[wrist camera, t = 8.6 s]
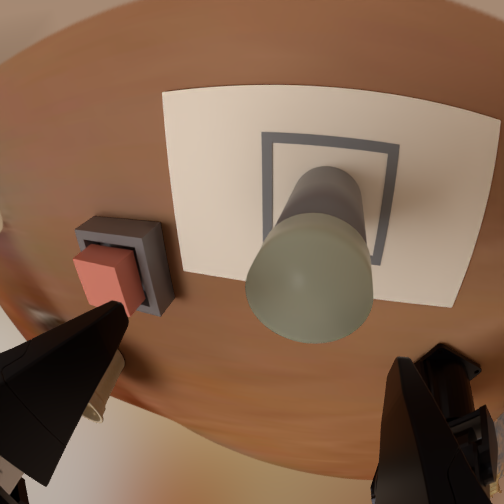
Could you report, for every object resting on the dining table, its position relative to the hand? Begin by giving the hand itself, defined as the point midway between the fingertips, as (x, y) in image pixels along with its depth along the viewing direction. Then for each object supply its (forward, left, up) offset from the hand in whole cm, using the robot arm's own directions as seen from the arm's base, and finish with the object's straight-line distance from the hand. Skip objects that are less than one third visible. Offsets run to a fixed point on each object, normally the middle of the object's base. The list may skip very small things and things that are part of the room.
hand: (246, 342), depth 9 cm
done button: (+10, +11, -9) cm, 17 cm away
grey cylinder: (-1, -1, -11) cm, 11 cm away
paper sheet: (-1, -1, -11) cm, 11 cm away
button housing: (+10, +11, -11) cm, 18 cm away
